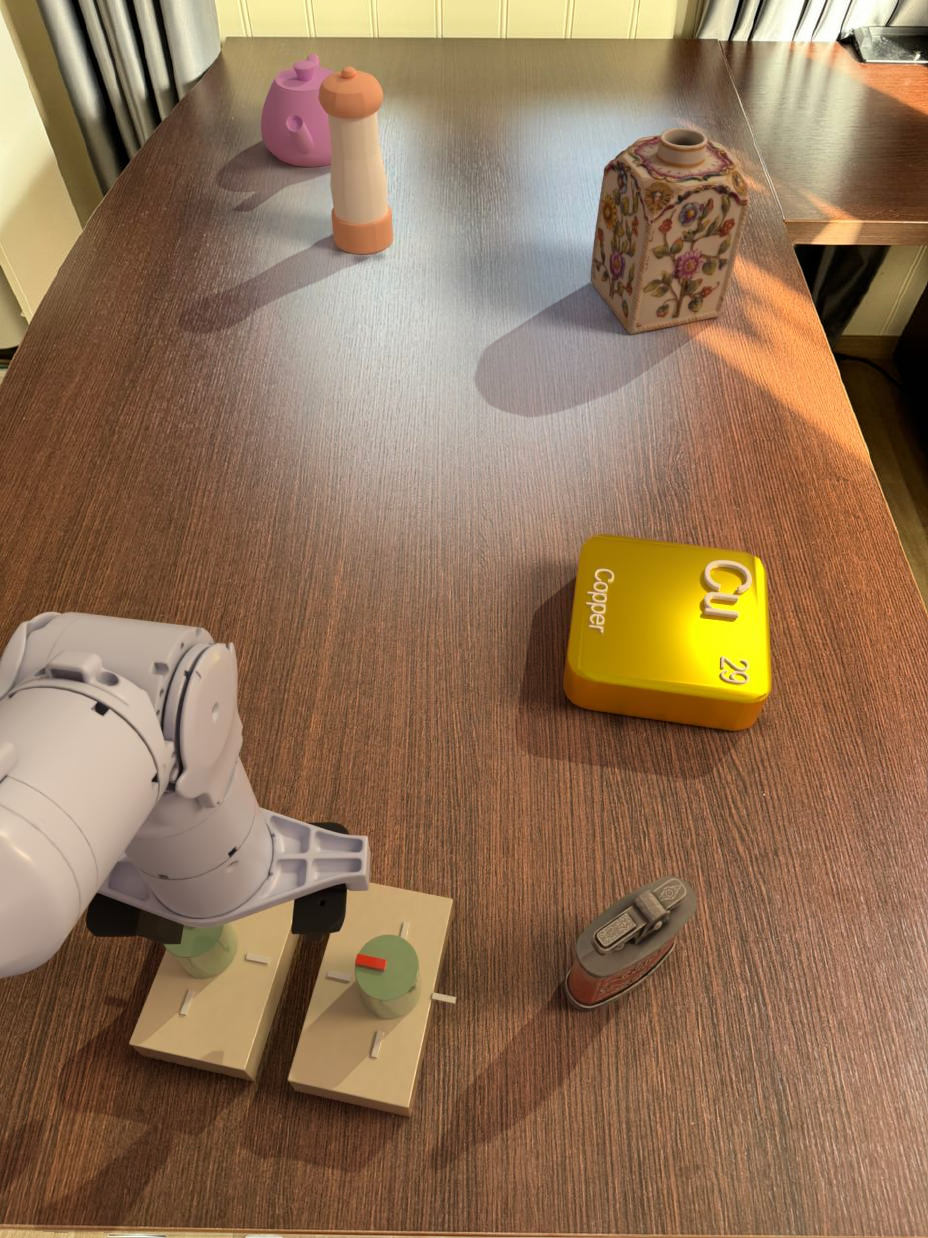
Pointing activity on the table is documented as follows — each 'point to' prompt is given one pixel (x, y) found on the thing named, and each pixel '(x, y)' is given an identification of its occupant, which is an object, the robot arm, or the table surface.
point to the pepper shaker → (356, 162)
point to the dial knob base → (344, 1027)
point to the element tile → (669, 632)
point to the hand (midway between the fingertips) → (248, 925)
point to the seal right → (388, 976)
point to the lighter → (628, 942)
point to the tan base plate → (221, 1001)
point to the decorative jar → (668, 230)
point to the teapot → (297, 116)
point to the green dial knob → (205, 950)
